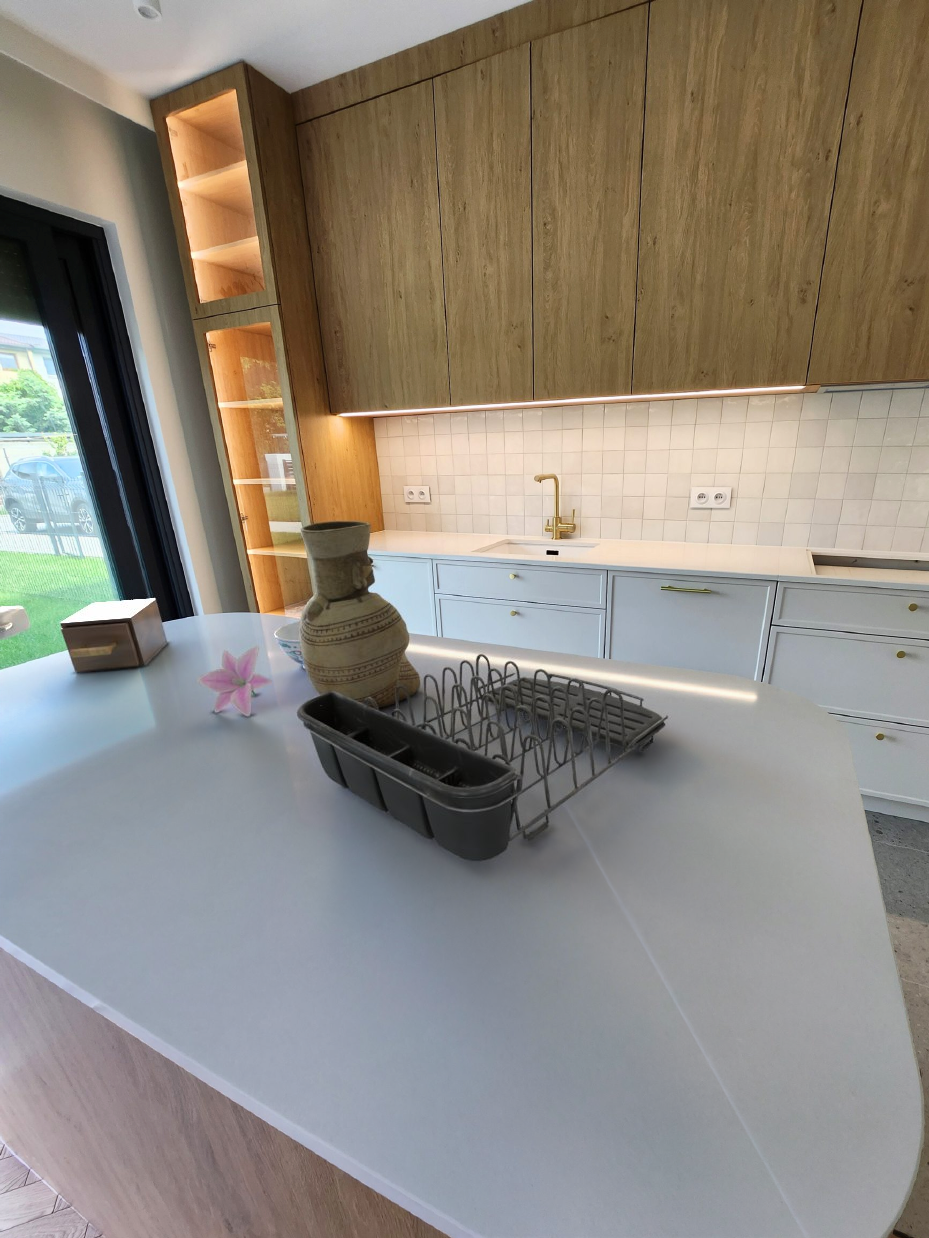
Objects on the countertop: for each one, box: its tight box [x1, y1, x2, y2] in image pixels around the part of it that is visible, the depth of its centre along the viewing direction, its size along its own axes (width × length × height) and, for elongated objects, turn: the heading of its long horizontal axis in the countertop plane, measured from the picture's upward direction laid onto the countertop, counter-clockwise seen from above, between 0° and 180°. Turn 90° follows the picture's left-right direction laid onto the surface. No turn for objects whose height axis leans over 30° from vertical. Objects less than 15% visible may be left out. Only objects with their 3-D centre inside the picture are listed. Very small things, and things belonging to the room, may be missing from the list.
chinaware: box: [274, 620, 306, 670], centre depth 118 cm, size 15×15×8 cm
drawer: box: [60, 621, 140, 672], centre depth 121 cm, size 19×11×9 cm, turn 13°
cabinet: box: [59, 598, 168, 674], centre depth 125 cm, size 16×13×11 cm
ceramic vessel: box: [299, 520, 421, 709], centre depth 98 cm, size 19×21×30 cm
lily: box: [197, 645, 272, 717], centre depth 101 cm, size 12×12×10 cm
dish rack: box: [296, 653, 669, 862], centre depth 79 cm, size 34×44×12 cm
